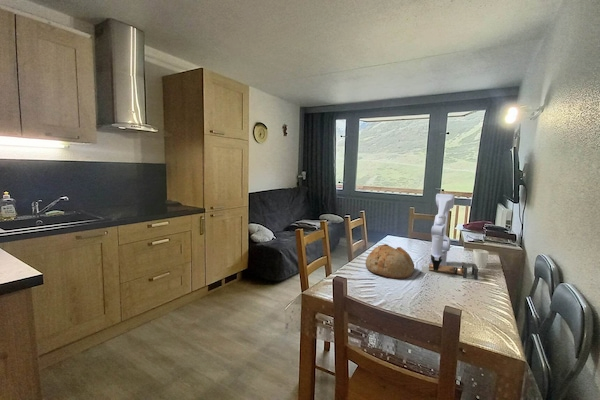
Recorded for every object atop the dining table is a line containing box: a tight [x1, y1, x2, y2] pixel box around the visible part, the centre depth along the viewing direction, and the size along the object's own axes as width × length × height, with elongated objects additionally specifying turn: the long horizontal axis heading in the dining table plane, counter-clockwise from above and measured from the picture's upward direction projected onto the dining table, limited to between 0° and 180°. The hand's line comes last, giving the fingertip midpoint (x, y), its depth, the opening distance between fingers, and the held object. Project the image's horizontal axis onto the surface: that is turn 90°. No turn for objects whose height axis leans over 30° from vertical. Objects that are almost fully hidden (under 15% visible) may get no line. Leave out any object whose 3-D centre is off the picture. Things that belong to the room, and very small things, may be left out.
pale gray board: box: [421, 265, 482, 282], centre depth 157 cm, size 29×11×1 cm, turn 66°
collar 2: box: [471, 262, 479, 281], centre depth 151 cm, size 2×9×6 cm, turn 156°
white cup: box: [472, 248, 490, 269], centre depth 168 cm, size 8×8×10 cm
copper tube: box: [428, 262, 464, 275], centre depth 157 cm, size 18×4×4 cm, turn 65°
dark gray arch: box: [461, 261, 468, 278], centre depth 153 cm, size 2×9×6 cm, turn 155°
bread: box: [365, 243, 415, 279], centre depth 160 cm, size 26×23×15 cm
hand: (435, 268), depth 159 cm, fingers closed on copper tube, 4 cm apart
